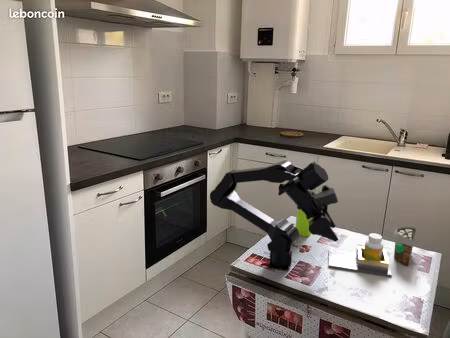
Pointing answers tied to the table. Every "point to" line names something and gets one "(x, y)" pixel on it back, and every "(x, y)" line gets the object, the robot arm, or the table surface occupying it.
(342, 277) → the table surface
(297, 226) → the soap dispenser
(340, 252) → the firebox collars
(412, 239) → the food container
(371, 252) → the supplement bottle
